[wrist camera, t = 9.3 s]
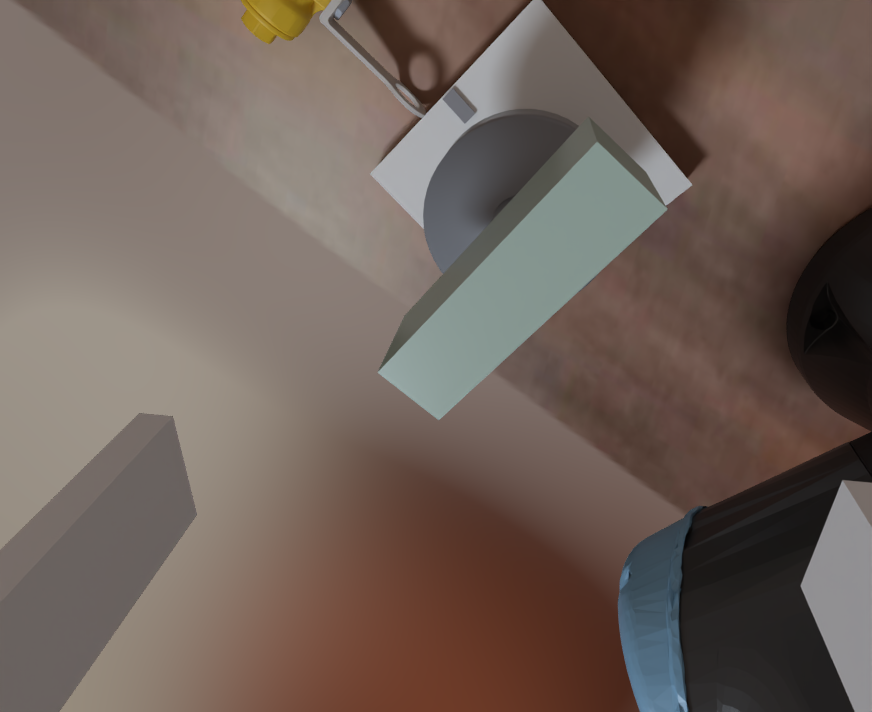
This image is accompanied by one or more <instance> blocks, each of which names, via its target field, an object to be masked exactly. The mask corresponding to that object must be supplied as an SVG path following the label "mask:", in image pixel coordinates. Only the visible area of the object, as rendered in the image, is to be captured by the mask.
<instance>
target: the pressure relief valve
mask: <svg viewBox="0 0 872 712" xmlns="http://www.w3.org/2000/svg"><path fill="white" fill-rule="evenodd" d="M241 1H242V3H243V5H244V6H245V7H246V9H247V10H246V12H245V13H244V15H243V16H242V18H241V19H242V21H243V23H244V24H245V26H246V27H247V28H248V29H249V30H250V31H251V32H252V33H253V34H254V35H255V36H256V37H258V38H259V39H260V40H262V41H264V42H266V43H268V44H270V43H272V42H273V41H274V39H275V38H276V36H279V37H280V38H282V39H285V40H289V41H291V40H293V39H294V38H295V37H298V36H299V35H300V34H301V33H302V32H303V30H304V29H305V27H306V26H307V25H308V23H309V22H310V19H311V18H312V16H313V15H314V14H315V13H316V12H318V11H321V10H324V11H323V12H322V14H321V15H320V17H319V19H320V22H321V23H322V24H323V25H324V26H325V27H326V28H327V29H328V30H330V31H331V32H332V33H333V34H334V35H335V36H336V37H337V38H338V39H339V40H340V41H341V42H342V43H343V44H344V45H345V46H346V47H347V48H348V49H349V50H350V51H351V52H352V53H353V54H354V55H355V56H357V57H358V58H359V59H360V60H361V61H362V62H363V63H364V64H365V65H366V66H367V67H368V68H369V69H370V70H371V71H372V72H373V73H374V74H375V75H376V76H377V77H378V78H379V79H380V80H381V81H382V82H383V83H384V84H385V85H386V86H387V87H388V88H389V89H390V91H391V92H392V93H393V94H394V96H395V97H396V98H397V99H398V100H399V101H400V102H401V103H402V104H403V105H404V106H405V107H406V108H407V109H408V110H409V111H411V112H412V113H413V114H415V115H416V116H418V117H420V118H423V117H424V116H425V115H426V110H425V108H424V107H423V105H422V104H421V102H420V101H419V100H418V99H417V98H416V97H415V96H414V95H413V94H412V92H411V91H410V90H409V89H408V88H407V87H406V86H405V85H404V84H402V83H401V82H400V81H399V80H397V79H396V78H394V77H393V76H392V75H391V74H390V73H389V72H388V71H386V70H385V69H384V68H383V67H382V66H381V65H380V64H379V63H378V62H377V61H376V60H375V59H374V58H373V57H372V56H371V55H370V54H369V53H368V52H367V51H366V50H365V49H364V48H363V47H362V46H361V45H360V44H359V43H358V42H357V41H356V40H355V39H354V38H353V37H352V36H351V35H350V34H348V33H347V32H346V31H345V30H344V29H343V28H342V27H341V26H340V25H339V24H338V23H337V22H336V21H335V20H334V18H335V19H336V20H339V19H340V17H341V16H342V15H343V14H344V12H345V11H346V10H347V8H348V7H349V6H350V4H351V3H352V0H241ZM397 88H399V89H400V90H401V91H403V92H404V93H405V94H406V95H407V96H408V97H409V98H410V99H411V100H412V102H413V103H414V104H415V106H416V107H415V106H414V105H412V104H411V103H410V102H409V101H408V100H407V99H406V98H405V97H404V96H403V95H402V94H401V93H400V92H399V90H398V89H397Z"/></svg>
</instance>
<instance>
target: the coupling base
mask: <svg viewBox="0 0 872 712" xmlns="http://www.w3.org/2000/svg"><path fill="white" fill-rule="evenodd" d="M515 109H537V110H544V111H548V112H552V113H555V114H558V115H560V116H562V117H565V118H567V119H569V120H570V121H572V122H574V123H575V124H577V125H579V126H580V125H581V124H582V123H583V122H584V120H585V119H586V118H587V117H588V116H589V117H590V118H591V119H592V120H593V121H594V122H595V123H596V124H597V125H598V126H599V127H600V128H601V129H602V130H603V131H604V132H605V133H606V134H607V135H608V136H609V137H610V138H611V139H613V140H614V141H615V142H616V143H617V144H618V145H619V146H620V147H621V148H622V149H623V150H624V151H625V152H626V153H627V154H628V155H629V156H630V157H631V158H632V159H633V160H634V161H635V162H636V163H637V164H638V165H639V166H640V167H641V168H642V169H643V170H645V171H646V173H647V174H648V176H649V178H650V180H651V181H652V183H653V185H654V187H655V188H656V190H657V192H658V193H659V195H660V197H661V199H662V200H663V202H664V204H665V205H667V204H669V203H670V202H671V201H673V200H674V199H675V198H676V197H678V196H679V195H680V194H681V193H683V192H684V191H685V190H687V189H688V188H689V187H690V186H692V184H691V183H690V181H689V180H688V179H687V178H686V177H685V175H684V174H683V173H682V172H681V170H680V169H679V168H678V167H677V165H676V164H675V163H674V162H673V161H672V159H671V158H670V157H669V156H668V154H667V153H666V152H665V151H664V150H663V148H662V147H661V146H660V145H659V143H658V142H657V141H656V140H655V139H654V137H653V136H652V135H651V134H650V132H649V131H648V130H647V129H646V128H645V126H644V125H643V124H642V123H641V121H640V120H639V119H638V118H637V116H636V115H635V114H634V113H633V112H632V110H631V109H630V108H629V107H628V105H627V104H626V103H625V102H624V101H623V99H622V98H621V97H620V96H619V94H618V93H617V92H616V91H615V90H614V88H613V87H612V86H611V85H610V83H609V82H608V81H607V80H606V78H605V77H604V76H603V75H602V74H601V72H600V71H599V70H598V69H597V67H596V66H595V65H594V64H593V63H592V61H591V60H590V59H589V58H588V56H587V55H586V54H585V53H584V52H583V50H582V49H581V48H580V47H579V45H578V44H577V43H576V42H575V41H574V39H573V38H572V37H571V36H570V34H569V33H568V32H567V31H566V29H565V28H564V27H563V26H562V25H561V23H560V22H559V21H558V20H557V18H556V17H555V16H554V15H553V14H552V12H551V11H550V10H549V9H548V7H547V6H546V5H545V4H544V3H543V1H542V0H532V1H531V3H530V4H529V5H528V6H527V7H526V8H525V9H524V10H523V11H522V12H521V13H520V14H519V15H518V16H517V17H516V19H515V20H514V21H513V22H512V23H511V24H510V25H509V26H508V27H507V28H506V29H505V30H504V31H503V32H502V33H501V35H500V36H499V37H498V38H497V39H496V40H495V41H494V42H493V43H492V44H491V45H490V46H489V47H488V48H487V50H486V51H485V52H484V53H483V54H482V55H481V56H480V57H479V58H478V59H477V60H476V61H475V62H474V63H473V64H472V66H471V67H470V68H469V69H468V70H467V71H466V72H465V73H464V74H463V75H462V76H461V77H460V78H459V79H458V80H457V82H456V83H455V84H454V85H453V86H452V87H451V88H450V89H449V90H448V91H447V92H446V93H445V94H444V95H443V96H442V98H441V99H440V100H439V101H438V102H437V103H436V104H435V105H434V106H433V107H432V108H431V109H430V110H429V111H428V113H427V114H426V115H425V116H424V117H423V118H422V119H421V120H420V121H419V122H418V123H417V124H416V125H415V126H414V127H413V129H412V130H411V131H410V132H409V133H408V134H407V135H406V136H405V137H404V138H403V139H402V140H401V141H400V142H399V143H398V145H397V146H396V147H395V148H394V149H393V150H392V151H391V152H390V153H389V154H388V155H387V156H386V157H385V158H384V159H383V161H382V162H381V163H380V164H379V165H378V166H377V167H376V168H375V169H374V170H373V171H372V172H371V173H370V174H371V175H372V177H373V178H374V179H375V180H376V181H377V182H378V183H379V184H380V185H381V186H382V187H383V188H384V189H385V190H386V191H387V192H388V193H389V194H390V195H391V196H392V197H393V198H394V199H395V200H396V201H397V202H398V203H399V204H400V205H401V206H402V207H403V208H404V209H405V210H406V211H407V212H408V213H409V214H410V215H411V216H412V217H413V218H414V219H415V220H416V221H417V222H418V224H419V225H420V226H421V227H422V228H423V229H424V223H423V209H424V200H425V196H426V191H427V188H428V185H429V182H430V180H431V177H432V175H433V173H434V171H435V170H436V168H437V166H438V164H439V163H440V162H441V160H442V159H443V157H444V156H445V155H446V153H447V152H448V150H449V149H450V148H451V146H452V145H453V144H454V142H455V141H456V140H457V139H458V138H459V137H460V136H461V135H462V134H463V133H464V132H465V131H466V130H468V129H469V128H470V127H471V126H473V125H474V124H476V123H478V122H479V121H481V120H483V119H485V118H487V117H489V116H491V115H494V114H497V113H500V112H504V111H508V110H515Z"/></svg>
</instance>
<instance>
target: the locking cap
mask: <svg viewBox="0 0 872 712" xmlns="http://www.w3.org/2000/svg"><path fill="white" fill-rule="evenodd" d="M666 210H667V207H666V205H665V204H664V202H663V200H662V199H661V197H660V195H659V193H658V192H657V190H656V188H655V187H654V185H653V183H652V181H651V180H650V178H649V176H648V174H647V173H646V171H645V170H643V169H642V168H641V167H640V166H639V165H638V164H637V163H636V162H635V161H634V160H633V159H632V158H631V157H630V156H629V155H628V154H627V153H626V152H625V151H624V150H623V149H622V148H621V147H620V146H619V145H618V144H617V143H616V142H615V141H614V140H613V139H611V138H610V137H609V136H608V135H607V134H606V133H605V132H604V131H603V130H602V129H601V128H600V127H599V126H598V125H597V124H596V123H595V122H594V121H593V120H592V119H591V118H590V117H589V116H588V117H587V118H586V119H585V120H584V122H583V123H582V124H581V125H580V126H579V125H577V124H575V123H574V122H572V121H570V120H569V119H567V118H565V117H562V116H560V115H558V114H555V113H552V112H548V111H544V110H537V109H515V110H508V111H504V112H500V113H497V114H494V115H491V116H489V117H487V118H485V119H483V120H481V121H479V122H478V123H476V124H474V125H473V126H471V127H470V128H469V129H468V130H466V131H465V132H464V133H463V134H462V135H461V136H460V137H459V138H458V139H457V140H456V141H455V142H454V144H453V145H452V146H451V148H450V149H449V150H448V152H447V153H446V155H445V156H444V157H443V159H442V160H441V162H440V163H439V164H438V166H437V168H436V170H435V171H434V173H433V175H432V177H431V180H430V182H429V185H428V188H427V191H426V196H425V200H424V209H423V223H424V231H425V237H426V241H427V244H428V247H429V250H430V252H431V254H432V256H433V259H434V261H435V262H436V264H437V265H438V267H439V269H440V270H441V272H442V273H443V275H442V276H441V277H440V278H439V279H438V280H437V281H436V282H435V283H434V284H433V285H432V287H431V288H430V289H429V290H428V291H427V292H426V293H425V294H424V295H423V296H422V297H421V299H420V300H419V301H418V302H417V303H416V304H415V305H414V306H413V307H412V308H411V309H410V310H409V312H408V313H407V314H406V315H405V316H404V318H403V320H402V322H401V324H400V326H399V328H398V331H397V333H396V335H395V337H394V339H393V341H392V343H391V345H390V347H389V350H388V352H387V354H386V356H385V358H384V360H383V362H382V364H381V366H380V368H379V370H378V373H379V374H380V375H382V376H383V377H384V378H385V379H387V380H388V381H389V382H391V383H392V384H393V385H395V386H396V387H397V388H398V389H400V390H401V391H402V392H403V393H405V394H406V395H407V396H408V397H410V398H411V399H412V400H414V401H415V402H416V403H417V404H419V405H420V406H421V407H423V408H424V409H425V410H426V411H428V412H429V413H430V414H432V415H433V416H434V417H435V418H437V419H438V420H439V419H441V418H442V417H443V416H444V415H445V414H446V413H447V412H448V411H449V410H450V409H451V408H453V407H454V406H455V404H457V403H458V402H459V401H460V400H461V399H462V398H463V397H464V396H466V395H467V393H469V392H470V391H471V390H472V389H473V388H474V387H475V386H476V385H477V384H478V383H480V382H481V381H482V380H483V379H484V378H485V377H486V376H487V375H488V374H489V373H491V372H492V371H493V370H494V369H495V368H496V367H497V366H498V365H499V364H500V363H501V362H502V361H504V360H505V359H506V358H507V357H508V356H509V355H510V354H511V353H512V352H513V351H514V350H515V349H517V348H518V347H519V346H520V345H521V344H522V343H523V342H524V341H525V340H526V339H527V338H529V337H530V336H531V335H532V334H533V333H534V332H535V331H536V330H537V329H538V328H539V327H540V326H542V325H543V324H544V323H545V322H546V321H547V320H548V319H549V318H550V317H551V316H552V315H553V314H555V313H556V312H557V311H558V310H559V309H560V308H561V307H562V306H563V305H564V304H565V303H566V302H568V301H569V300H570V299H571V298H572V297H573V296H574V295H575V294H576V293H578V292H579V291H580V290H582V289H583V288H584V287H585V286H587V285H588V284H589V283H590V282H591V281H592V280H593V279H594V278H595V277H596V276H597V275H598V273H599V272H600V271H601V270H602V269H603V268H604V267H606V266H607V265H608V264H609V263H610V262H611V261H612V260H613V259H614V258H615V257H616V256H617V255H619V254H620V253H621V252H622V251H623V250H624V249H625V248H626V247H627V246H628V245H629V244H631V243H632V242H633V241H634V240H635V239H636V238H637V237H638V236H639V235H640V234H641V233H642V232H644V231H645V230H646V229H647V228H648V227H649V226H650V225H651V224H652V223H653V222H654V221H655V220H657V219H658V218H659V217H660V216H661V215H662V214H663V213H664V212H665V211H666Z"/></svg>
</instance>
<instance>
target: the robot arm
mask: <svg viewBox="0 0 872 712" xmlns="http://www.w3.org/2000/svg"><path fill="white" fill-rule="evenodd" d="M787 340H788V346H789V349H790V353H791V355H792V358H793V360H794V362H795V365H796V366H797V368H798V370H799V371H800V373H801V374H802V376H803V377H804V379H805V380H806V382H807V383H808V384H809V386H810V387H811V389H812V390H813V391H814V393H815V394H816V395H817V396H818V397H819V398H820V399H821V400H822V401H823V402H824V403H825V404H827V405H828V406H829V407H830V408H831V409H833V410H834V411H835V412H837V413H838V414H840V415H842V416H843V417H845V418H847V419H849V420H851V421H853V422H855V423H856V424H858V425H860V426H862V427H864V428H866V429H868V430H870V431H872V208H870V209H869V210H867V211H865V212H864V213H862V214H861V215H859V216H857V217H856V218H855V219H853V220H852V221H850V222H849V223H848V224H846V225H845V226H844V227H843V228H841V229H840V230H839V231H838V232H837V233H836V234H835V235H833V236H832V237H831V238H830V239H829V240H828V241H827V242H826V243H825V244H824V245H823V246H822V248H821V249H820V250H819V251H818V252H817V253H816V255H815V256H814V257H813V259H812V260H811V261H810V262H809V264H808V266H807V267H806V269H805V270H804V272H803V273H802V275H801V277H800V279H799V281H798V283H797V285H796V287H795V290H794V292H793V295H792V298H791V301H790V305H789V310H788V315H787ZM196 515H197V513H196V509H195V505H194V501H193V496H192V492H191V489H190V484H189V480H188V476H187V472H186V468H185V464H184V460H183V456H182V451H181V448H180V443H179V440H178V435H177V431H176V427H175V423H174V419H173V416H164V415H154V414H143V413H139V414H138V415H137V416H136V417H135V418H134V419H133V420H132V421H131V422H130V423H129V424H128V425H127V426H126V427H125V428H124V429H123V430H122V431H121V432H120V433H119V434H118V435H117V436H116V437H115V438H114V439H113V440H112V441H111V442H110V443H109V444H108V445H107V446H106V447H105V448H104V449H103V450H101V451H100V452H99V454H97V455H96V456H95V457H94V458H93V459H92V460H91V461H90V463H88V464H87V465H86V466H85V467H84V468H83V469H82V470H81V471H80V472H79V473H78V474H77V475H76V476H75V477H74V478H73V479H72V480H71V481H70V482H69V483H68V484H67V485H66V486H65V487H64V488H63V489H62V490H61V491H60V492H59V493H58V494H57V495H56V496H55V497H54V498H53V499H52V500H51V501H50V502H49V503H48V504H47V505H46V506H45V507H44V508H43V509H42V510H41V511H40V512H38V514H36V515H35V516H34V517H33V518H32V519H31V520H30V521H29V522H28V524H26V525H25V526H24V527H23V528H22V529H21V530H20V531H19V532H18V533H17V534H16V535H15V536H14V537H13V538H12V539H11V540H10V541H9V542H8V543H7V544H6V545H5V546H4V547H3V548H2V549H1V550H0V712H59V711H60V710H61V708H62V707H63V706H64V704H65V703H66V701H67V700H68V699H69V697H70V696H71V694H72V693H73V691H74V690H75V689H76V687H77V686H78V684H79V683H80V681H81V680H82V678H83V677H84V676H85V674H86V673H87V671H88V670H89V669H90V667H91V666H92V664H93V663H94V661H95V660H96V658H97V657H98V656H99V654H100V653H101V651H102V650H103V649H104V647H105V646H106V644H107V643H108V641H109V640H110V639H111V637H112V635H113V634H114V632H115V631H116V630H117V629H118V627H119V626H120V624H121V623H122V621H123V620H124V618H125V617H126V616H127V614H128V613H129V611H130V610H131V608H132V607H133V606H134V604H135V603H136V601H137V600H138V598H139V597H140V596H141V594H142V593H143V591H144V590H145V588H146V587H147V585H148V584H149V583H150V581H151V580H152V578H153V577H154V575H155V574H156V572H157V571H158V570H159V568H160V567H161V566H162V564H163V563H164V561H165V560H166V558H167V557H168V556H169V554H170V553H171V551H172V550H173V548H174V547H175V546H176V544H177V543H178V541H179V540H180V538H181V537H182V536H183V534H184V533H185V531H186V530H187V528H188V527H189V525H190V524H191V523H192V521H193V520H194V518H195V517H196ZM618 614H619V627H620V636H621V642H622V648H623V653H624V658H625V663H626V667H627V671H628V675H629V678H630V682H631V685H632V689H633V692H634V695H635V698H636V701H637V704H638V707H639V710H640V712H872V432H870V433H868V434H866V435H864V436H862V437H860V438H857V439H855V440H853V441H850V442H847V443H845V444H843V445H840V446H838V447H836V448H834V449H832V450H830V451H828V452H826V453H823V454H821V455H819V456H817V457H815V458H813V459H811V460H809V461H806V462H804V463H802V464H800V465H798V466H796V467H794V468H792V469H789V470H787V471H785V472H783V473H781V474H779V475H777V476H775V477H772V478H770V479H768V480H766V481H764V482H762V483H760V484H758V485H755V486H753V487H751V488H749V489H747V490H745V491H743V492H741V493H738V494H736V495H734V496H732V497H730V498H727V499H725V500H723V501H721V502H719V503H716V504H714V505H712V506H710V507H707V506H698V507H696V508H693V509H692V510H690V511H689V512H688V513H687V514H686V515H685V517H684V518H683V519H681V520H679V521H677V522H675V523H673V524H671V525H670V526H668V527H666V528H664V529H662V530H660V531H658V532H657V533H655V534H653V535H651V536H649V537H647V538H646V539H644V540H643V541H641V542H640V543H639V544H638V545H637V546H636V547H635V548H633V550H632V552H631V553H630V554H629V556H628V558H627V560H626V562H625V564H624V567H623V570H622V575H621V578H620V594H619V599H618Z"/></svg>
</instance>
